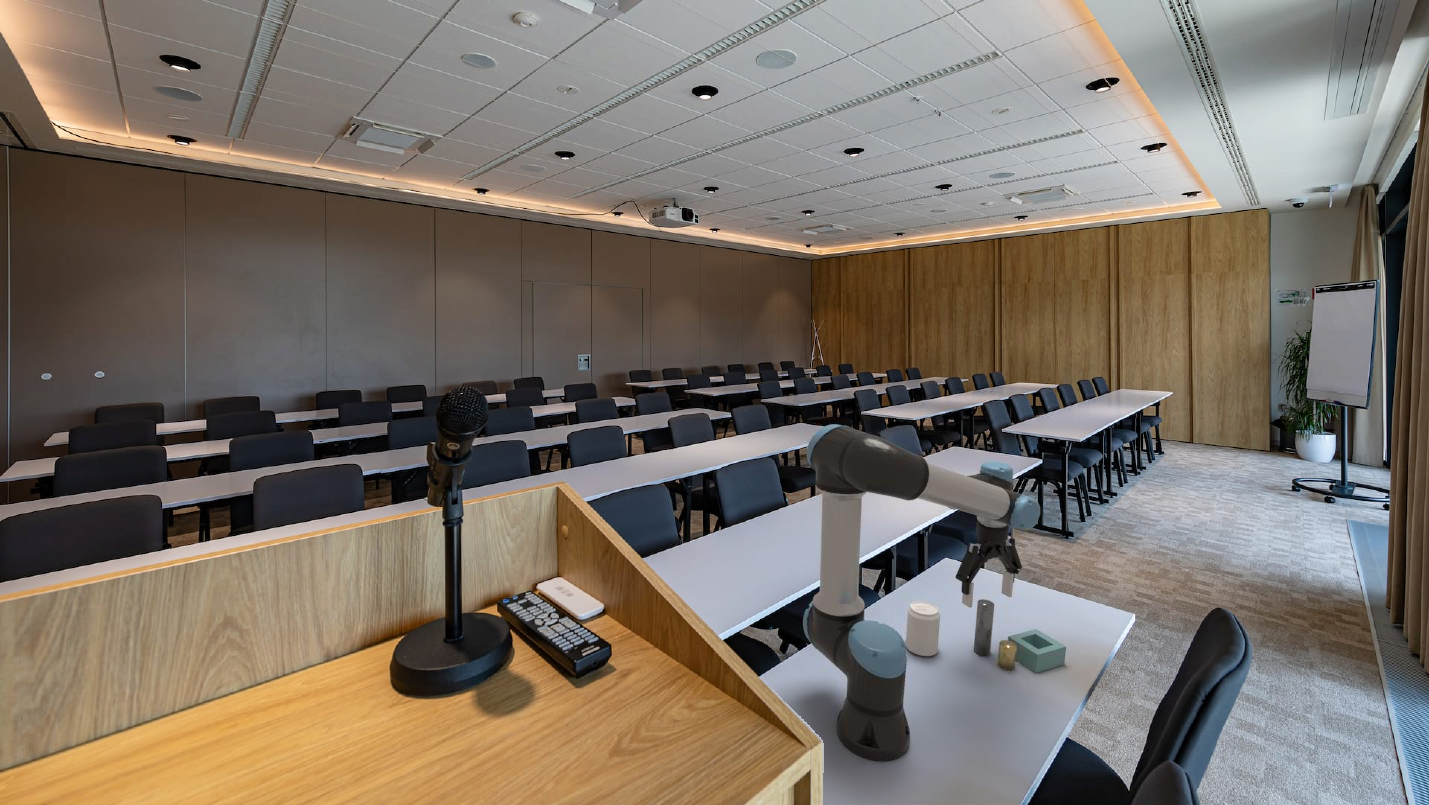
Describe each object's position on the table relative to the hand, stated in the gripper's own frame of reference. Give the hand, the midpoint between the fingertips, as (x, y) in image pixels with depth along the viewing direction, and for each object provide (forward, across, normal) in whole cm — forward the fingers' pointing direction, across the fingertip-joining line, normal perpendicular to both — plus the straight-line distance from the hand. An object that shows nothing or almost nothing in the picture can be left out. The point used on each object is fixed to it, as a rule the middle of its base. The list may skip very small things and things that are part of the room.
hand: (987, 600), depth 158 cm
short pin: (+15, 0, -7) cm, 16 cm away
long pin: (+15, 0, 0) cm, 15 cm away
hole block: (+15, +10, -8) cm, 19 cm away
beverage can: (+15, -14, +7) cm, 22 cm away
